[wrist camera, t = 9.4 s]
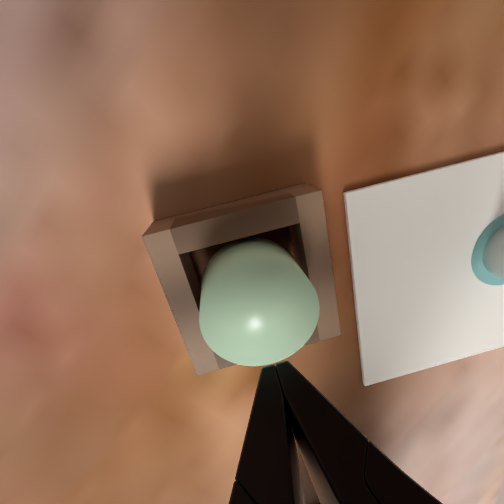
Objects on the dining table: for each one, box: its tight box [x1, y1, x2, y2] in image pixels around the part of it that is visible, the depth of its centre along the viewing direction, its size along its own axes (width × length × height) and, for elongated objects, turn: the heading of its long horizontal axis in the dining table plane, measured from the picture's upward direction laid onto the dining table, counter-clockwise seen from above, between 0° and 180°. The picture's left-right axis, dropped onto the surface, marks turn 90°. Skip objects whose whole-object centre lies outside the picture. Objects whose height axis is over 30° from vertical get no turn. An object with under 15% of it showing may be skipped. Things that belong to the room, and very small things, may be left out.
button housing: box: [142, 183, 341, 375], centre depth 15 cm, size 8×8×2 cm
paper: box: [343, 151, 504, 386], centre depth 18 cm, size 14×16×1 cm
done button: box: [199, 237, 320, 366], centre depth 13 cm, size 5×5×3 cm
